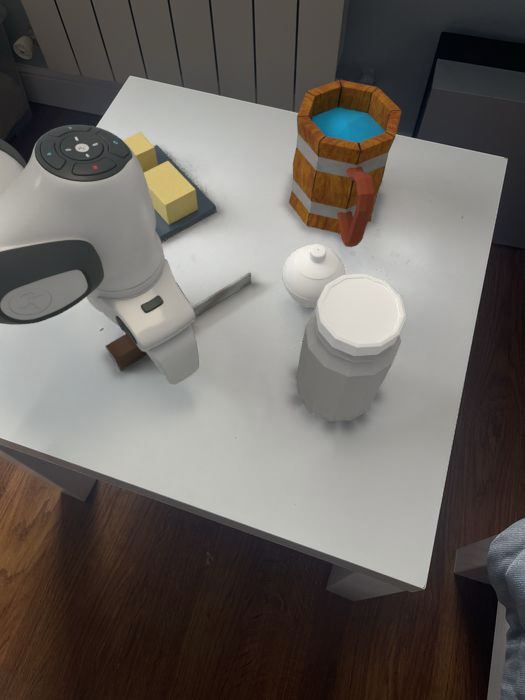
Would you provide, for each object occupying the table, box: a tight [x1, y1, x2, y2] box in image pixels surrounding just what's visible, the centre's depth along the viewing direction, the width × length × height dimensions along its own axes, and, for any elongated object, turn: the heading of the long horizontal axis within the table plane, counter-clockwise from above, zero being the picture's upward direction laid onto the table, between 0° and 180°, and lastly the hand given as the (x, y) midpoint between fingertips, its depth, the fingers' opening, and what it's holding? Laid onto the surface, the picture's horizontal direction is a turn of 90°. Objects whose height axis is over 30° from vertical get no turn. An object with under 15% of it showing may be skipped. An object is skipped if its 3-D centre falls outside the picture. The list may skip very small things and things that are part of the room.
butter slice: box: [122, 131, 158, 173], centre depth 80 cm, size 5×4×4 cm
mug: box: [288, 79, 402, 248], centre depth 73 cm, size 20×14×15 cm
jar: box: [295, 273, 407, 422], centre depth 58 cm, size 10×10×18 cm
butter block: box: [144, 161, 198, 225], centre depth 77 cm, size 5×7×4 cm
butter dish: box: [153, 144, 217, 243], centre depth 80 cm, size 10×16×1 cm, turn 38°
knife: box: [105, 271, 252, 372], centre depth 69 cm, size 21×2×3 cm, turn 127°
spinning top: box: [281, 243, 347, 309], centre depth 66 cm, size 8×8×12 cm
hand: (146, 339), depth 67 cm, fingers open, 5 cm apart
